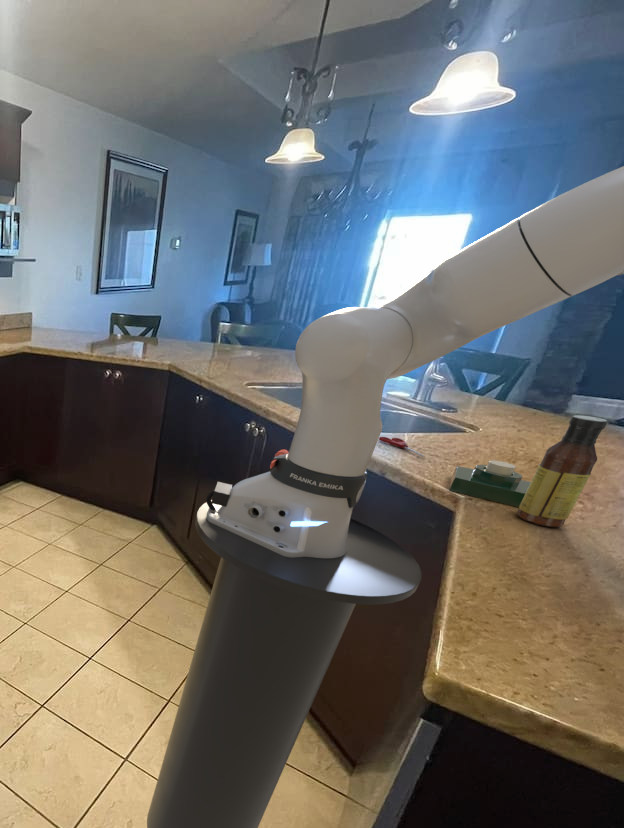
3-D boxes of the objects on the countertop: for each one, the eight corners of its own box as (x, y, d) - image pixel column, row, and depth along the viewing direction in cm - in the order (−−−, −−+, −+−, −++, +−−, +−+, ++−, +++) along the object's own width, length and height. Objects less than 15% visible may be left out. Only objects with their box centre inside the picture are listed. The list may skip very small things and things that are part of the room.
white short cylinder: (484, 472, 101) (489, 463, 100) (484, 467, 103) (489, 458, 103) (511, 478, 98) (516, 469, 97) (510, 473, 101) (515, 464, 100)
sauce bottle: (565, 523, 91) (626, 421, 82) (558, 532, 87) (621, 426, 79) (516, 509, 95) (570, 411, 87) (508, 517, 92) (563, 415, 84)
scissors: (397, 440, 133) (399, 437, 133) (434, 459, 121) (436, 455, 120) (376, 439, 134) (378, 435, 133) (410, 457, 121) (412, 453, 121)
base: (449, 490, 103) (459, 468, 101) (451, 477, 110) (460, 457, 108) (529, 510, 96) (542, 486, 94) (526, 495, 102) (538, 473, 100)
